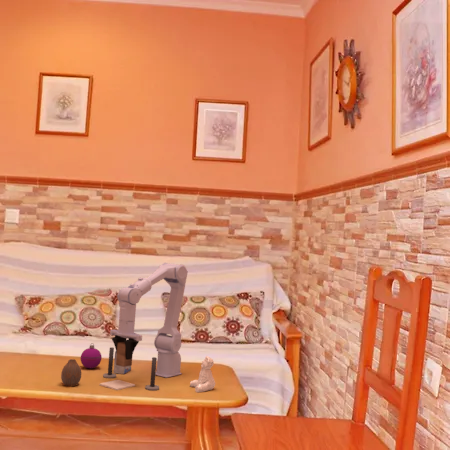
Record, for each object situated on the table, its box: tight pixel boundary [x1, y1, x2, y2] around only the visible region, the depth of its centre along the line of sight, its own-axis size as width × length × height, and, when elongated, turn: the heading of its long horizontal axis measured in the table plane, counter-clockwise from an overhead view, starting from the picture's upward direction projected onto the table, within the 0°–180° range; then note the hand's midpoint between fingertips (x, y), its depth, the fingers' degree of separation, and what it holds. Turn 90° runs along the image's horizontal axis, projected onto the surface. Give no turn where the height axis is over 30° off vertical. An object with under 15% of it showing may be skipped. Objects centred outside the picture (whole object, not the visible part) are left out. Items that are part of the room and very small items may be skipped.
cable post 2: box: [144, 356, 160, 392], centre depth 201 cm, size 5×5×11 cm
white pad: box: [99, 379, 136, 391], centre depth 202 cm, size 9×9×1 cm
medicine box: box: [113, 350, 132, 375], centre depth 224 cm, size 8×4×9 cm, turn 168°
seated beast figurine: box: [189, 355, 216, 393], centre depth 206 cm, size 10×9×12 cm
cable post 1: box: [102, 346, 117, 379], centre depth 214 cm, size 5×5×11 cm
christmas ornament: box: [80, 343, 102, 370], centre depth 226 cm, size 8×8×10 cm
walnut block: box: [116, 342, 133, 367], centre depth 205 cm, size 4×4×8 cm
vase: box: [60, 358, 82, 387], centre depth 199 cm, size 7×7×9 cm
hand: (124, 358), depth 205 cm, fingers closed on walnut block, 4 cm apart
